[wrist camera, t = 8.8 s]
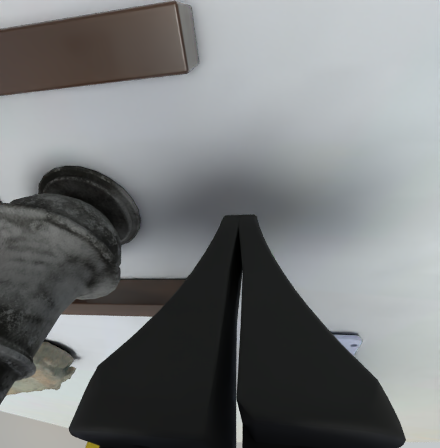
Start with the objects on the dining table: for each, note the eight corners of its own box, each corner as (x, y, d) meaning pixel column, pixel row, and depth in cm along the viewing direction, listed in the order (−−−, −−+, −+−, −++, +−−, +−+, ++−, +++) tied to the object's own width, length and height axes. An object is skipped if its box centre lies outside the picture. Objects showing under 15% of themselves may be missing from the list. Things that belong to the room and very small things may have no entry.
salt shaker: (121, 155, 10) (-684, 1018, 1) (158, 247, 14) (4, 644, 5) (7, 164, 11) (-978, 747, 2) (71, 249, 15) (-196, 594, 6)
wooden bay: (231, 291, 17) (229, 318, 15) (59, 290, 18) (43, 314, 17) (191, 4, 7) (176, -1, 6) (-157, 60, 9) (-240, 67, 7)
